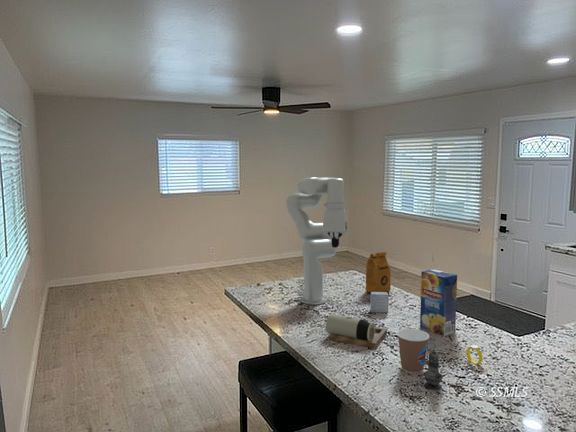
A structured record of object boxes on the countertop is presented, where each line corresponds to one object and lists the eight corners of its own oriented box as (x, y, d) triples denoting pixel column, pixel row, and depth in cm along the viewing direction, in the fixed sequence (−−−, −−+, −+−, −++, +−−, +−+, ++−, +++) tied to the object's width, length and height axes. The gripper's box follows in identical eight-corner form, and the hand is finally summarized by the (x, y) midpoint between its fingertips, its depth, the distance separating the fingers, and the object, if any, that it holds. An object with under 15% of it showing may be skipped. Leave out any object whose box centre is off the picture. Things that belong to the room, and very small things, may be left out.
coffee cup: (423, 378, 136) (424, 342, 135) (392, 371, 141) (393, 336, 140) (431, 366, 145) (432, 332, 143) (401, 359, 150) (402, 326, 149)
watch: (464, 360, 149) (464, 344, 149) (470, 359, 150) (470, 342, 150) (478, 366, 144) (477, 349, 143) (484, 365, 145) (484, 348, 144)
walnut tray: (329, 339, 168) (329, 334, 167) (343, 326, 182) (343, 321, 181) (375, 348, 159) (375, 343, 159) (386, 333, 173) (386, 329, 173)
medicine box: (387, 309, 203) (387, 292, 202) (388, 312, 198) (388, 294, 197) (370, 309, 203) (370, 291, 202) (371, 312, 199) (371, 294, 198)
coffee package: (393, 292, 230) (393, 252, 227) (374, 296, 224) (375, 255, 222) (381, 288, 239) (381, 249, 236) (363, 291, 233) (363, 251, 231)
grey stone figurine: (419, 381, 134) (420, 345, 133) (437, 381, 135) (439, 344, 133) (427, 391, 128) (428, 353, 127) (446, 390, 129) (447, 352, 127)
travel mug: (330, 335, 174) (372, 344, 165) (323, 330, 168) (366, 340, 159) (335, 316, 177) (376, 324, 168) (328, 311, 171) (370, 319, 162)
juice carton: (455, 332, 174) (457, 275, 172) (443, 336, 170) (445, 277, 168) (431, 323, 184) (433, 269, 182) (419, 326, 180) (421, 271, 178)
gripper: (316, 206, 189) (316, 247, 191) (348, 207, 182) (348, 249, 184) (323, 205, 195) (323, 244, 197) (354, 206, 188) (353, 247, 190)
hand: (335, 247), depth 191 cm, fingers closed
